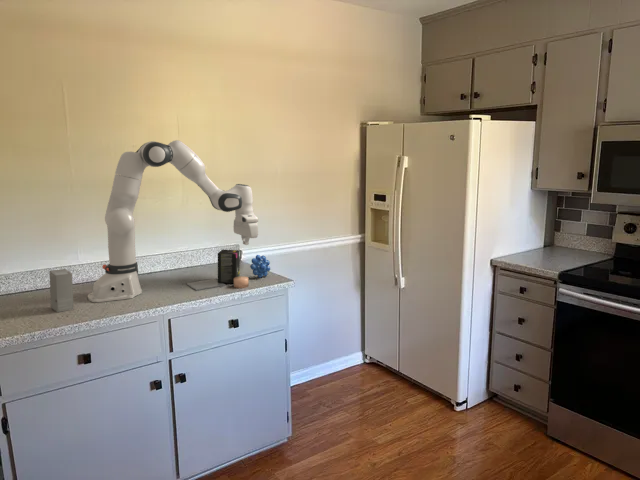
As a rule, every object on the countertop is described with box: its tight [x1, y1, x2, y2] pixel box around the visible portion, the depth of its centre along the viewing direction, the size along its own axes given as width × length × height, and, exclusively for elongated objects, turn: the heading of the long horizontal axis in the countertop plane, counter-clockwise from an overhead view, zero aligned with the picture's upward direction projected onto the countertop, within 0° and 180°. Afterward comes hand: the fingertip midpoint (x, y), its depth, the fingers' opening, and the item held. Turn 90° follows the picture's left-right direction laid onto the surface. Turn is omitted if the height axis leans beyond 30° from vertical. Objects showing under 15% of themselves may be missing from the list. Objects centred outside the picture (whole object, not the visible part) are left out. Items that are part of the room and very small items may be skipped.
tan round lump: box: [233, 275, 250, 289], centre depth 230 cm, size 7×7×4 cm
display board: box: [186, 278, 226, 291], centre depth 232 cm, size 14×13×1 cm
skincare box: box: [48, 268, 75, 313], centre depth 197 cm, size 8×7×16 cm
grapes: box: [249, 254, 271, 279], centre depth 243 cm, size 12×7×12 cm, turn 130°
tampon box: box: [217, 249, 241, 284], centre depth 238 cm, size 11×9×15 cm
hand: (245, 244), depth 241 cm, fingers closed
